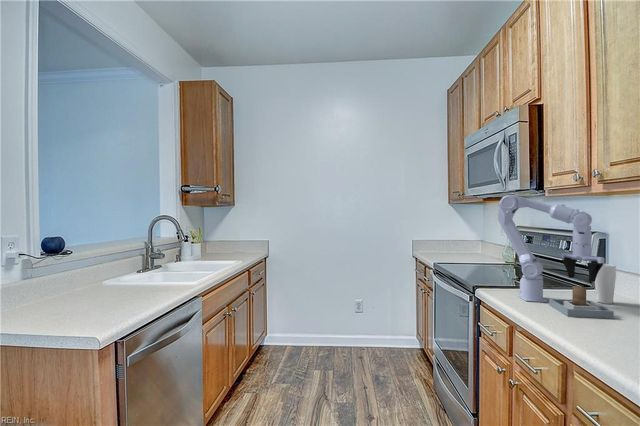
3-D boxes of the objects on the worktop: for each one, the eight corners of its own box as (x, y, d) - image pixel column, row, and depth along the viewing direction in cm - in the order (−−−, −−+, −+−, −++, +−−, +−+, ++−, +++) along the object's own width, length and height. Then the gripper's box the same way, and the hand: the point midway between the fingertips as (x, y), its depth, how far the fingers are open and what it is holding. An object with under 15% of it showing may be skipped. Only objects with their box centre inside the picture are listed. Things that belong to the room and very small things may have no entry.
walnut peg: (570, 307, 129) (570, 286, 129) (581, 307, 129) (581, 286, 129) (576, 310, 125) (576, 288, 125) (588, 310, 125) (588, 288, 125)
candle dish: (549, 305, 135) (549, 298, 135) (590, 307, 132) (590, 299, 132) (567, 316, 121) (567, 308, 121) (613, 318, 119) (613, 310, 119)
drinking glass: (589, 301, 140) (590, 264, 140) (600, 299, 143) (601, 263, 143) (608, 305, 134) (609, 266, 134) (619, 303, 137) (620, 265, 136)
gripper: (555, 242, 138) (555, 276, 138) (595, 246, 124) (594, 284, 125) (568, 241, 140) (568, 275, 141) (608, 245, 127) (608, 282, 127)
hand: (581, 279), depth 133 cm, fingers open, 7 cm apart
